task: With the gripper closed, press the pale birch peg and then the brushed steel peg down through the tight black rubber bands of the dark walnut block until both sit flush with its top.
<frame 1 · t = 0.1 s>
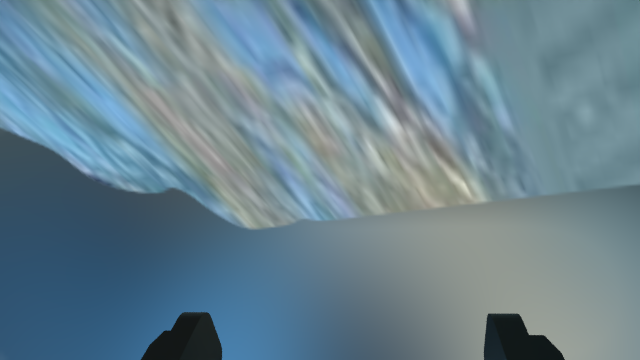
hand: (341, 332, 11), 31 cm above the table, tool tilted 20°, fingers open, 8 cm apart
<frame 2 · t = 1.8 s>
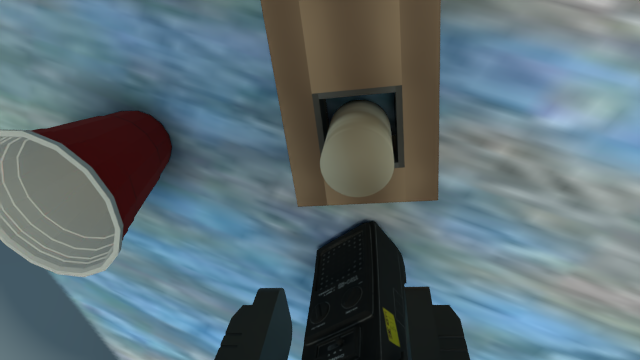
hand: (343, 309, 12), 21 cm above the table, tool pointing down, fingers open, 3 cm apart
portable radio: (363, 249, 38), on the table
plastic cup: (140, 139, 35), on the table
birch peg: (358, 145, 23), point 8 cm above the table, slide at 5.0 cm
collar block: (356, 30, 28), on the table
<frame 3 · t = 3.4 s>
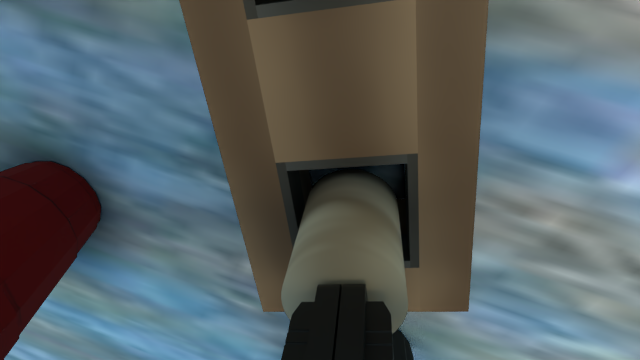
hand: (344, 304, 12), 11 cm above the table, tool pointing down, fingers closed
portable radio: (359, 334, 29), on the table
plastic cup: (59, 196, 26), on the table
birch peg: (348, 248, 15), point 8 cm above the table, slide at 4.8 cm, touching gripper
collar block: (346, 57, 19), on the table
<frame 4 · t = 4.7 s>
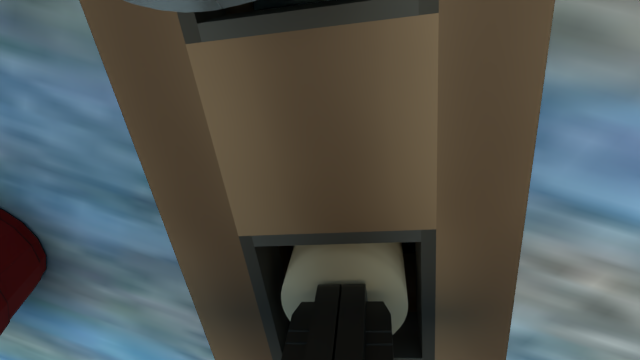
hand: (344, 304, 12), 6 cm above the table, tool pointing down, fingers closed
birch peg: (348, 249, 15), point 3 cm above the table, slide at -0.1 cm, touching gripper
collar block: (339, 82, 15), on the table
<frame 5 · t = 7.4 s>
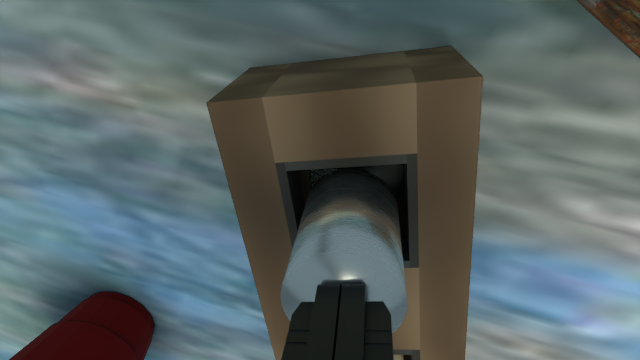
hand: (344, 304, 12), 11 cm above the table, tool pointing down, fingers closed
steel peg: (347, 248, 15), point 8 cm above the table, slide at 4.8 cm, touching gripper
plastic cup: (118, 315, 31), on the table
birch peg: (369, 340, 24), point 3 cm above the table, slide at -0.1 cm
collar block: (363, 237, 24), on the table
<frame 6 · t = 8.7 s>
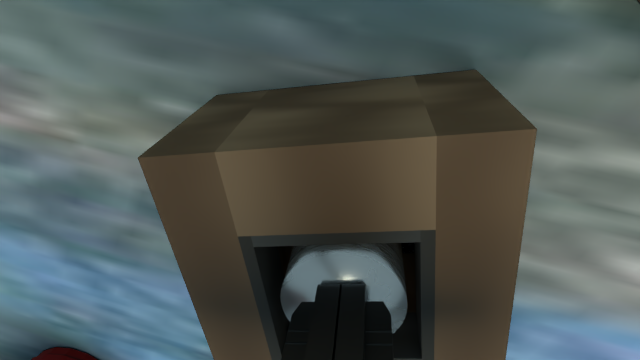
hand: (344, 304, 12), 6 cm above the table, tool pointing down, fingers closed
steel peg: (347, 249, 15), point 3 cm above the table, slide at -0.1 cm, touching gripper
collar block: (361, 296, 20), on the table
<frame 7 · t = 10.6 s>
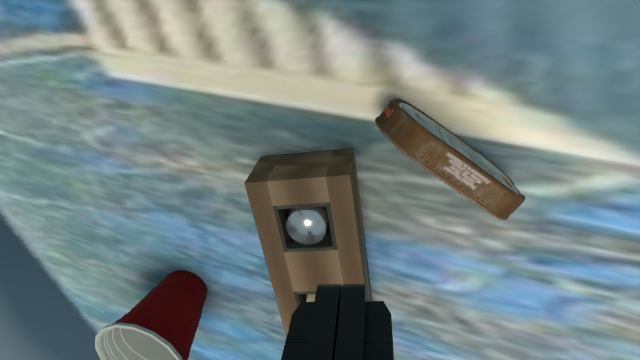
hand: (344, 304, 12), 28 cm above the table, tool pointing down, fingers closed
tin: (443, 139, 39), on the table
steel peg: (310, 212, 41), point 3 cm above the table, slide at -0.1 cm
plastic cup: (185, 285, 53), on the table
birch peg: (325, 291, 46), point 3 cm above the table, slide at -0.1 cm
collar block: (321, 237, 46), on the table
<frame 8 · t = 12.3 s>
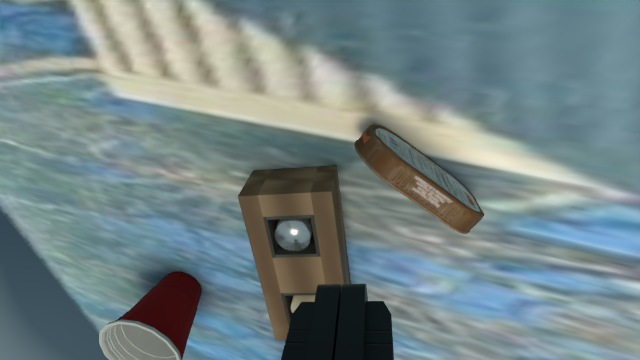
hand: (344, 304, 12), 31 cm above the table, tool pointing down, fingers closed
tin: (416, 159, 43), on the table
steel peg: (296, 222, 45), point 3 cm above the table, slide at -0.1 cm
plastic cup: (181, 285, 57), on the table
birch peg: (310, 293, 50), point 3 cm above the table, slide at -0.1 cm
collar block: (307, 243, 50), on the table
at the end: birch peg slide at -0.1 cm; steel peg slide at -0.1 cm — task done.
